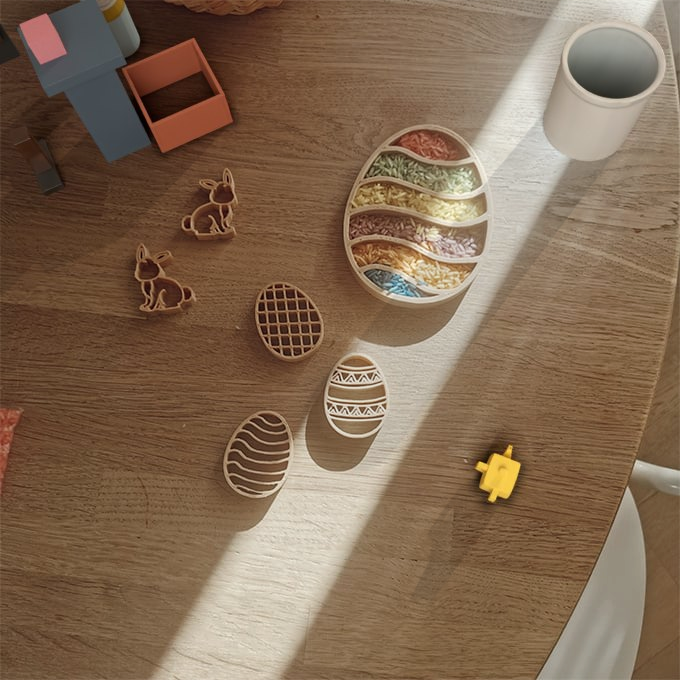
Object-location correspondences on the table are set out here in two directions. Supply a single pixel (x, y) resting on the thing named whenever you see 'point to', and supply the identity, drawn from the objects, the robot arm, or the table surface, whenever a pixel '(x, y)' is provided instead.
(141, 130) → the blue t-shaped block
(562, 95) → the utensil holder
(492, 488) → the teapot
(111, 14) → the bottle
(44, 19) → the pink rectangular block
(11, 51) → the robot arm
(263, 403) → the table surface
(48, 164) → the dark grey angular piece
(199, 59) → the bin
